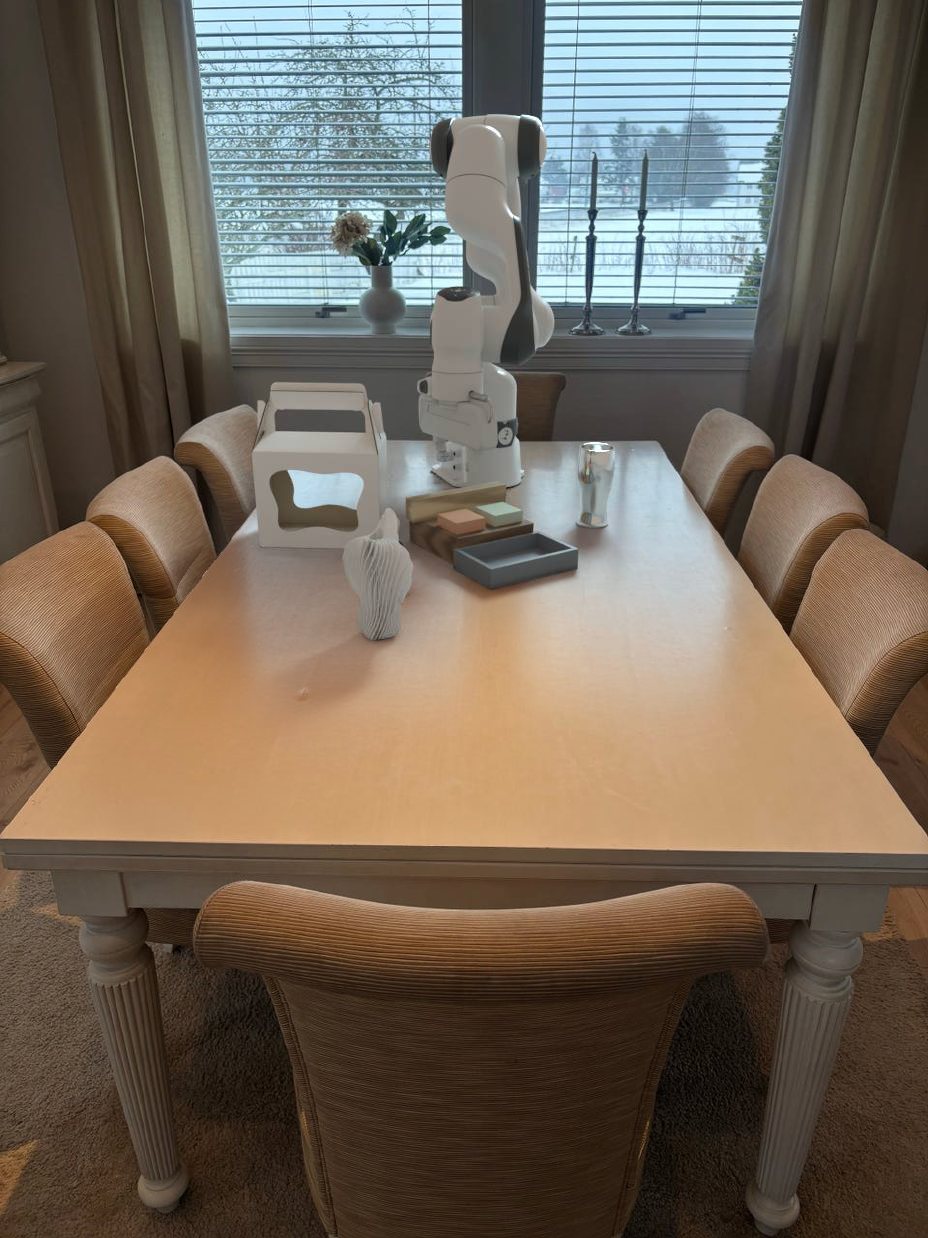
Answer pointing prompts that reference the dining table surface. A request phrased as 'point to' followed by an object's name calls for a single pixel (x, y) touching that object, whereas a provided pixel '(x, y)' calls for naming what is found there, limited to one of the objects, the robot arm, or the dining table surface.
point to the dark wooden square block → (461, 536)
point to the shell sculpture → (379, 577)
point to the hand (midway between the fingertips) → (457, 466)
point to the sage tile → (500, 513)
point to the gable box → (317, 467)
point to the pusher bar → (453, 500)
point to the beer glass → (594, 483)
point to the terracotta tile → (461, 521)
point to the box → (515, 559)
